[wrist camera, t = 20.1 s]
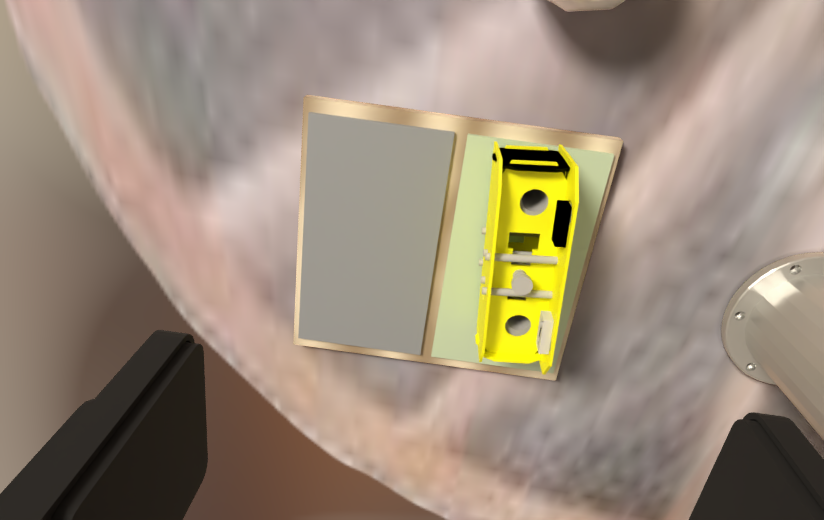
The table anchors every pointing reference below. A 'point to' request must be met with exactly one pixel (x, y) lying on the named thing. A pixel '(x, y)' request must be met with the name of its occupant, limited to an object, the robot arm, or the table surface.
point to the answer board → (417, 229)
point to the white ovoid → (586, 4)
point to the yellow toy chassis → (526, 253)
